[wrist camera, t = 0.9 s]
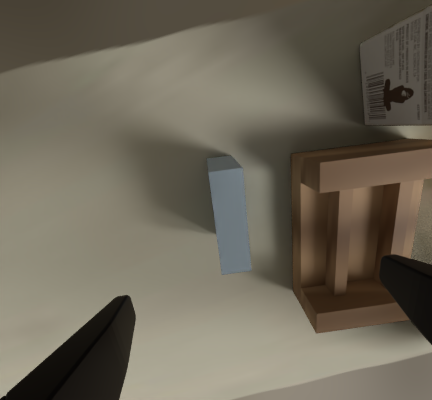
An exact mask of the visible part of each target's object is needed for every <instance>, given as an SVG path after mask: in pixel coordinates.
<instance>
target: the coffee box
mask: <svg viewBox="0 0 432 400" xmlns="http://www.w3.org/2000/svg"><path fill="white" fill-rule="evenodd" d="M360 61H361V76H362V90H363V104H364V118H365V125H366V126H401V125H432V5H430V6H429V7H427V8H425V9H423V10H421V11H419V12H417V13H415V14H413V15H412V16H410V17H408V18H406V19H405V20H403V21H400V22H398V23H396V24H395V25H393V26H391V27H389V28H387V29H386V30H384V31H382V32H380V33H378V34H376V35H375V36H373V37H371V38H369V39H367V40H365V41H364V42H362V43H361V44H360Z"/></svg>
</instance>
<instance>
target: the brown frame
mask: <svg viewBox="0 0 432 400" xmlns="http://www.w3.org/2000/svg"><path fill="white" fill-rule="evenodd" d="M431 178H432V140H425V139H401V140H393V141H385V142H378V143H370V144H362V145H355V146H347V147H339V148H332V149H324V150H316V151H309V152H301V153H293V154H291V200H292V257H293V292H294V294H295V296H296V297H297V299H298V301H299V303H300V305H301V306H302V308H303V310H304V312H305V314H306V315H307V317H308V319H309V321H310V323H311V325H312V326H313V328H314V330H315V332H316V333H323V332H330V331H336V330H343V329H350V328H357V327H364V326H371V325H378V324H385V323H392V322H399V321H406V320H410V319H409V318H408V317H407V316H406V314H405V313H404V312H403V310H402V309H401V308H400V306H399V305H398V304H397V302H396V301H395V300H394V298H393V297H392V296H391V294H390V293H389V292H388V290H387V289H386V288H385V286H384V285H383V284H382V282H381V281H380V278H379V270H380V262H381V258H382V257H383V256H385V255H391V254H396V255H400V256H403V257H407V258H410V259H411V253H412V247H413V241H414V235H415V229H416V223H417V217H418V212H419V206H420V200H421V194H422V188H423V182H424V179H431Z"/></svg>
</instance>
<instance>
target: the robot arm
mask: <svg viewBox="0 0 432 400" xmlns="http://www.w3.org/2000/svg"><path fill="white" fill-rule="evenodd" d="M379 278H380V281H381V282H382V284H383V285H384V286H385V288H386V289H387V290H388V292H389V293H390V294H391V296H392V297H393V298H394V300H395V301H396V302H397V304H398V305H399V306H400V308H401V309H402V310H403V312H404V313H405V314H406V316H407V317H408V318H409V319H410V321H411V322H412V323H413V324H414V325H415V327H416V328H417V329H418V330H419V331H420V332H421V333H422V335H423V336H424V337H425V338H426V339H427V340H428V341H429V342H430V343H431V345H432V265H430V264H427V263H424V262H420V261H417V260H413V259H410V258H407V257H403V256H400V255H396V254H391V255H385V256H383V257H382V258H381V262H380V270H379ZM135 320H136V315H135V311H134V308H133V304H132V301H131V298H130V296H128V295H124V296H118V297H116V298H114V299H113V300H112V301H111V302H110V303H109V304H108V305H106V306H105V307H104V308H103V309H102V310H101V311H100V312H99V313H97V314H96V315H95V316H94V317H93V318H92V319H91V320H89V321H88V322H87V323H86V324H85V325H84V326H83V327H81V328H80V329H79V330H78V331H77V332H76V333H75V334H74V335H72V336H71V337H70V338H69V339H68V340H67V341H66V342H64V343H63V344H62V345H61V346H60V347H59V348H58V349H56V350H55V351H54V352H53V353H52V354H51V355H50V356H49V357H47V358H46V359H45V360H44V361H43V362H42V363H41V364H39V365H38V366H37V367H36V368H35V369H34V370H33V371H31V372H30V373H29V374H28V375H27V376H26V377H25V378H23V379H22V380H21V381H20V382H19V383H18V384H17V385H16V386H14V387H13V388H12V389H11V390H10V391H9V392H8V393H7V394H6V396H3V397H2V398H1V399H0V400H119V398H120V394H121V391H122V387H123V383H124V379H125V376H126V372H127V367H128V362H129V356H130V350H131V344H132V338H133V332H134V326H135Z"/></svg>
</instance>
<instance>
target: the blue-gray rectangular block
mask: <svg viewBox="0 0 432 400" xmlns="http://www.w3.org/2000/svg"><path fill="white" fill-rule="evenodd" d="M207 166H208V174H209V181H210V189H211V196H212V204H213V211H214V219H215V226H216V234H217V241H218V249H219V256H220V264H221V271H222V275H224V274H231V273H239V272H246V271H251V259H250V247H249V236H248V224H247V212H246V200H245V188H244V176H243V168H242V167H241V165H240V164H239V163H238V162H237V161H236V160H235V159H234V158H233V157H232V156H231V155H230V156H223V157H215V158H207Z"/></svg>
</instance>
